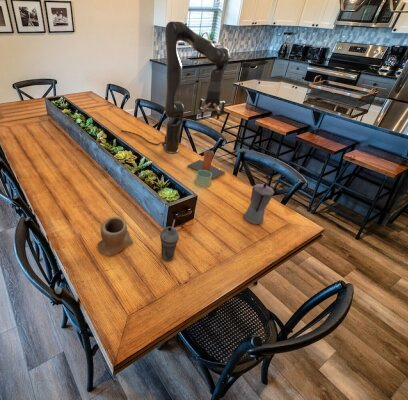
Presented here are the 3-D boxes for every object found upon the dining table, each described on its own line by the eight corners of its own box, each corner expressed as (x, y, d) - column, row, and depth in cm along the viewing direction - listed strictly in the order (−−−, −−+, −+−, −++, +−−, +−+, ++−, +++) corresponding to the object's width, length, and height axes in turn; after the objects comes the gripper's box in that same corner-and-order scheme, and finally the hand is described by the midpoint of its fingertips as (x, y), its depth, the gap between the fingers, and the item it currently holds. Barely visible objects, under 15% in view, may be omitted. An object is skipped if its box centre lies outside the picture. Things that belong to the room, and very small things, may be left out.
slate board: (187, 167, 170) (187, 165, 169) (199, 161, 177) (199, 159, 176) (212, 180, 159) (213, 178, 158) (224, 173, 166) (225, 171, 165)
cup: (192, 182, 156) (193, 173, 152) (201, 177, 161) (203, 168, 157) (203, 189, 151) (205, 179, 147) (213, 183, 156) (215, 174, 152)
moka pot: (264, 212, 136) (276, 179, 124) (263, 232, 125) (276, 197, 113) (245, 208, 139) (255, 175, 127) (242, 226, 127) (253, 192, 115)
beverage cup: (157, 250, 112) (160, 213, 100) (175, 250, 113) (179, 213, 101) (159, 264, 106) (162, 226, 94) (177, 263, 107) (182, 226, 95)
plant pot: (199, 168, 167) (202, 151, 160) (205, 165, 170) (208, 149, 163) (206, 171, 163) (209, 155, 157) (212, 168, 167) (215, 152, 160)
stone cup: (109, 264, 105) (106, 236, 96) (93, 246, 112) (90, 219, 103) (140, 246, 113) (140, 219, 104) (123, 231, 120) (122, 204, 111)
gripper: (227, 89, 149) (222, 117, 158) (202, 86, 151) (198, 114, 160) (227, 92, 143) (221, 122, 153) (200, 89, 145) (196, 119, 155)
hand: (209, 118), depth 156 cm, fingers open, 8 cm apart
